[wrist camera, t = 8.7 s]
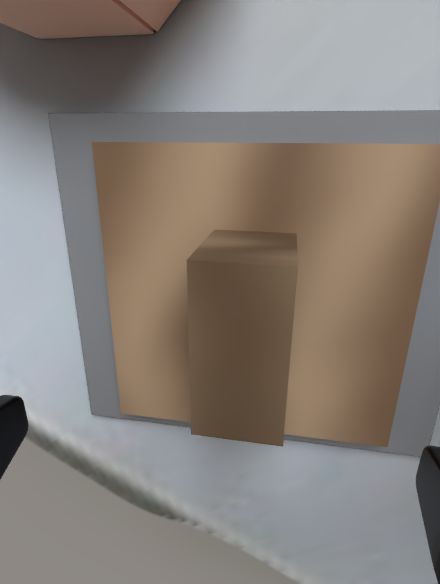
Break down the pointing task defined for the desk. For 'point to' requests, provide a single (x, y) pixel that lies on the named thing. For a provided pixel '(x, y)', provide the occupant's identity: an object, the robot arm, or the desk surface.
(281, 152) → the cover
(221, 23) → the desk surface
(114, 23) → the bowl
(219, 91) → the desk surface
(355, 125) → the mat
